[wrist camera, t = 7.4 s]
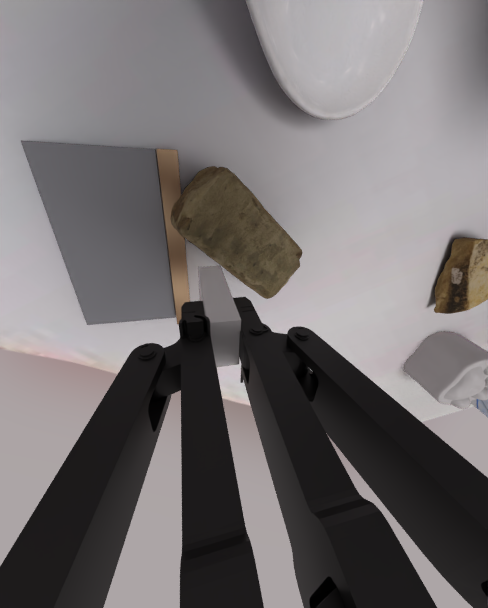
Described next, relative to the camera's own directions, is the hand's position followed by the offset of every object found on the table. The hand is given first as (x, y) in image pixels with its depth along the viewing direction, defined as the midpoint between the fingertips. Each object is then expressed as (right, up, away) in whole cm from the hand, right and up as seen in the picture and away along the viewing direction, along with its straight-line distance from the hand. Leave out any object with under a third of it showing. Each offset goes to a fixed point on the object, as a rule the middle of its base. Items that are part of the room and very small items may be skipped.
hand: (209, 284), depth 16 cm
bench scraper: (-10, +4, +6) cm, 12 cm away
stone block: (+3, +5, +9) cm, 11 cm away
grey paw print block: (+39, -11, +28) cm, 49 cm away
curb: (-4, +4, +7) cm, 9 cm away
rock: (+31, +8, +16) cm, 36 cm away
